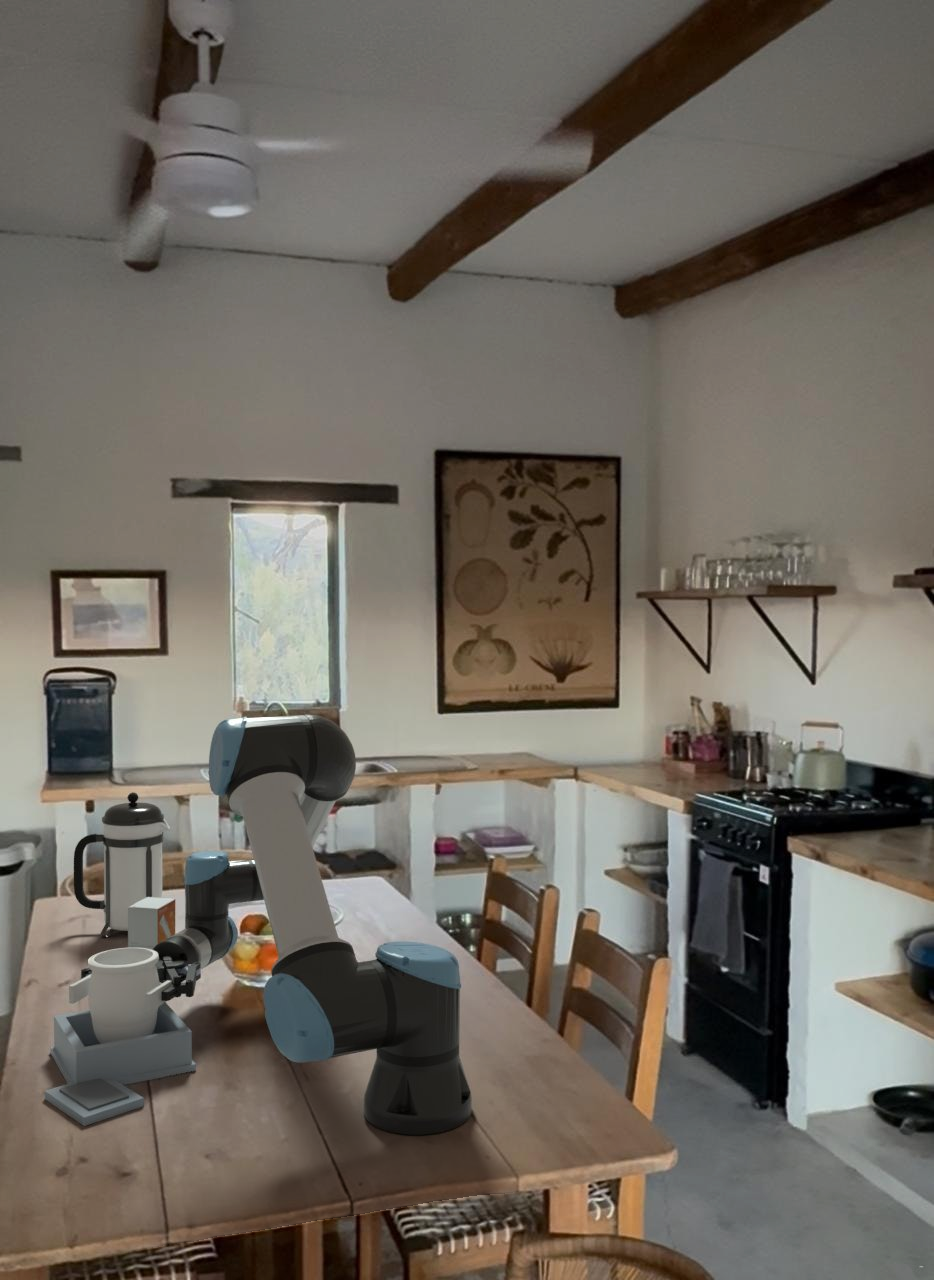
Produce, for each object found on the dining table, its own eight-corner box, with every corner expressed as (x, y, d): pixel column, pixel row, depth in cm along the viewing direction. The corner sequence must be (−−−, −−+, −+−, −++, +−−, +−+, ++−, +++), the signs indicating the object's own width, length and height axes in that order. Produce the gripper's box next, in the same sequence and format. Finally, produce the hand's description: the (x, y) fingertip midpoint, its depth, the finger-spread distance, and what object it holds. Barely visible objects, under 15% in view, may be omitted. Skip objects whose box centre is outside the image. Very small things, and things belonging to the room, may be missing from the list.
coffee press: (146, 916, 264) (146, 784, 263) (182, 931, 252) (181, 793, 251) (72, 931, 252) (71, 792, 251) (105, 947, 241) (105, 802, 240)
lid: (143, 1106, 166) (143, 1095, 166) (84, 1126, 160) (84, 1115, 160) (103, 1081, 175) (102, 1071, 174) (44, 1099, 168) (44, 1088, 168)
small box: (158, 976, 223) (157, 908, 222) (127, 974, 224) (126, 906, 223) (176, 963, 231) (176, 897, 230) (146, 961, 232) (146, 896, 231)
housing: (196, 1070, 179) (195, 1031, 178) (73, 1095, 170) (73, 1054, 169) (163, 1032, 194) (163, 996, 194) (50, 1052, 185) (50, 1015, 185)
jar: (91, 1069, 176) (89, 970, 175) (88, 1044, 186) (86, 950, 185) (163, 1058, 180) (162, 962, 179) (157, 1035, 189) (155, 943, 189)
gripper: (245, 985, 196) (182, 1031, 175) (115, 972, 202) (38, 1015, 182) (245, 941, 195) (181, 981, 175) (115, 929, 202) (38, 967, 181)
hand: (108, 998), depth 178 cm, fingers open, 12 cm apart
